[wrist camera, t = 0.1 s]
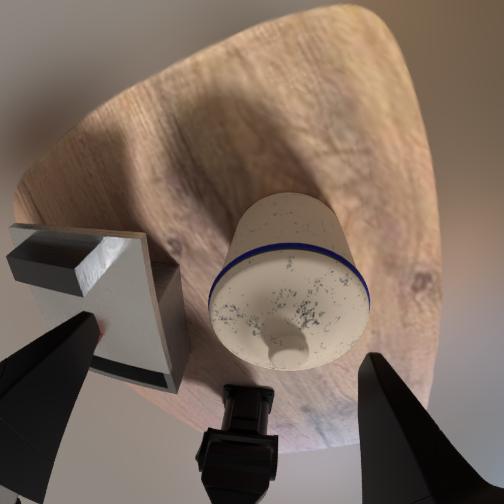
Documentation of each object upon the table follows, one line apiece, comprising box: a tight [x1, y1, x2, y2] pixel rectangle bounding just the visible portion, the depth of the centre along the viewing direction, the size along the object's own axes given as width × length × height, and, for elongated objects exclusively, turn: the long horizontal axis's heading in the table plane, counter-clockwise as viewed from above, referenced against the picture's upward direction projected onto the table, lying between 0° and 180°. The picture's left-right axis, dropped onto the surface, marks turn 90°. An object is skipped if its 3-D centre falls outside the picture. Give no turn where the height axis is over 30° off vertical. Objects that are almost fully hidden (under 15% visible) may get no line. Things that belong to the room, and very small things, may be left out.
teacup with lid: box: [208, 192, 370, 371], centre depth 19 cm, size 12×9×12 cm
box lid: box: [6, 223, 172, 374], centre depth 19 cm, size 13×13×4 cm
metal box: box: [89, 262, 191, 394], centre depth 26 cm, size 12×12×6 cm
